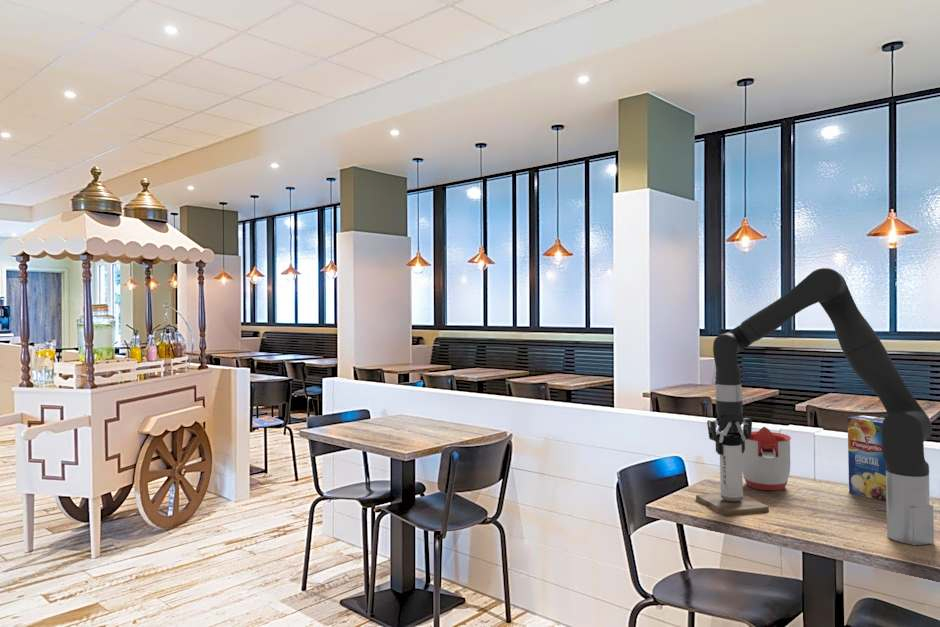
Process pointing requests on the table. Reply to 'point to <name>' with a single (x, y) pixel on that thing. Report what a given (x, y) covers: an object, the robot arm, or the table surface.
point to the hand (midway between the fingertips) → (730, 453)
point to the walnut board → (732, 505)
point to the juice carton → (866, 457)
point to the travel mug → (731, 468)
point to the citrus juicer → (766, 460)
